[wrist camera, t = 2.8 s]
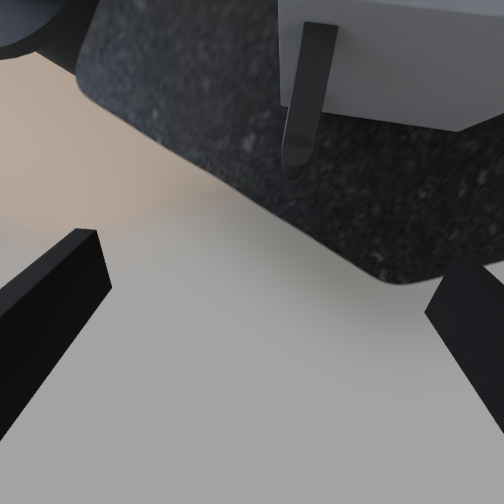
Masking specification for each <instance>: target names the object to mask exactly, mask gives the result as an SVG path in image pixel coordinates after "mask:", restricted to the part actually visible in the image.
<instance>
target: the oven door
mask: <svg viewBox="0 0 504 504" xmlns="http://www.w3.org/2000/svg"><path fill="white" fill-rule="evenodd" d="M278 18H279V54H280V91H281V106H285V107H288V112H287V118H286V123H285V129H284V134H283V140H282V146H281V161H282V173H283V175H284V177H285V178H286V179H289V180H295V179H297V178H298V177H299V176H300V175H301V173H302V172H303V170H304V168H305V167H306V165H307V164H308V162H309V160H310V159H311V157H312V155H313V152H314V147H315V142H316V137H317V132H318V127H319V122H320V117H321V112H326V113H333V114H339V115H346V116H353V117H360V118H366V119H373V120H380V121H387V122H394V123H400V124H407V125H414V126H421V127H427V128H434V129H441V130H448V131H454V132H458V131H461V130H463V129H466V128H468V127H471V126H473V125H476V124H478V123H480V122H483V121H485V120H488V119H490V118H493V117H495V116H498V115H500V114H503V113H504V0H278Z"/></svg>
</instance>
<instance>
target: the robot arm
mask: <svg viewBox="0 0 504 504" xmlns="http://www.w3.org/2000/svg"><path fill="white" fill-rule="evenodd" d="M111 288H112V285H111V282H110V278H109V274H108V271H107V267H106V263H105V259H104V256H103V252H102V248H101V245H100V241H99V238H98V234H97V230H91V229H79V228H78V229H77V228H76V229H74V230H73V231H72V232H71V233H69V234H68V235H67V236H66V237H64V238H63V239H62V240H61V241H59V242H58V243H57V244H56V245H55V246H53V247H52V248H51V249H49V250H48V251H47V252H46V253H45V254H43V255H42V256H41V257H40V258H38V259H37V260H36V261H35V262H34V263H32V264H31V265H30V266H28V267H27V268H26V269H25V270H23V271H22V272H21V273H20V274H18V275H17V276H16V277H15V278H13V279H12V280H11V281H10V282H8V283H7V284H6V285H5V286H4V287H2V288H1V289H0V441H1V440H2V438H3V437H4V435H5V434H6V433H7V431H8V430H9V428H10V427H11V425H12V424H13V423H14V422H15V420H16V419H17V418H18V416H19V415H20V413H21V412H22V411H23V409H24V408H25V407H26V405H27V404H28V402H29V401H30V399H31V398H32V397H33V396H34V394H35V393H36V391H37V390H38V389H39V387H40V386H41V385H42V383H43V382H44V380H45V379H46V378H47V376H48V375H49V374H50V372H51V371H52V369H53V368H54V367H55V365H56V364H57V363H58V361H59V360H60V359H61V357H62V356H63V354H64V353H65V352H66V350H67V349H68V348H69V346H70V345H71V343H72V342H73V341H74V339H75V338H76V337H77V335H78V334H79V332H80V331H81V330H82V328H83V327H84V325H85V324H86V323H87V321H88V320H89V319H90V317H91V316H92V315H93V313H94V312H95V310H96V309H97V308H98V306H99V305H100V303H101V302H102V301H103V299H104V298H105V297H106V295H107V294H108V293H109V291H110V290H111ZM424 313H425V314H426V316H427V317H428V319H429V320H430V322H431V323H432V325H433V326H434V328H435V329H436V331H437V332H438V334H439V335H440V337H441V338H442V340H443V342H444V343H445V345H446V346H447V348H448V349H449V351H450V352H451V354H452V355H453V357H454V358H455V360H456V361H457V363H458V364H459V366H460V368H461V369H462V371H463V372H464V374H465V375H466V377H467V378H468V380H469V381H470V383H471V384H472V386H473V387H474V389H475V390H476V392H477V394H478V395H479V397H480V398H481V399H482V401H483V403H484V404H485V405H486V407H487V409H488V410H489V412H490V413H491V415H492V416H493V418H494V419H495V421H496V423H497V424H498V425H499V427H500V429H501V430H502V432H503V433H504V285H503V284H502V283H501V282H500V281H499V280H498V279H496V277H495V276H493V275H492V274H491V273H490V272H489V271H488V270H487V269H486V268H485V267H483V266H482V265H481V264H480V263H479V262H478V261H477V260H476V259H468V258H455V257H454V258H453V260H452V262H451V264H450V266H449V268H448V270H447V271H446V273H445V275H444V277H443V279H442V281H441V282H440V284H439V286H438V288H437V290H436V292H435V293H434V295H433V297H432V299H431V301H430V303H429V304H428V306H427V308H426V310H425V312H424Z"/></svg>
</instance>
